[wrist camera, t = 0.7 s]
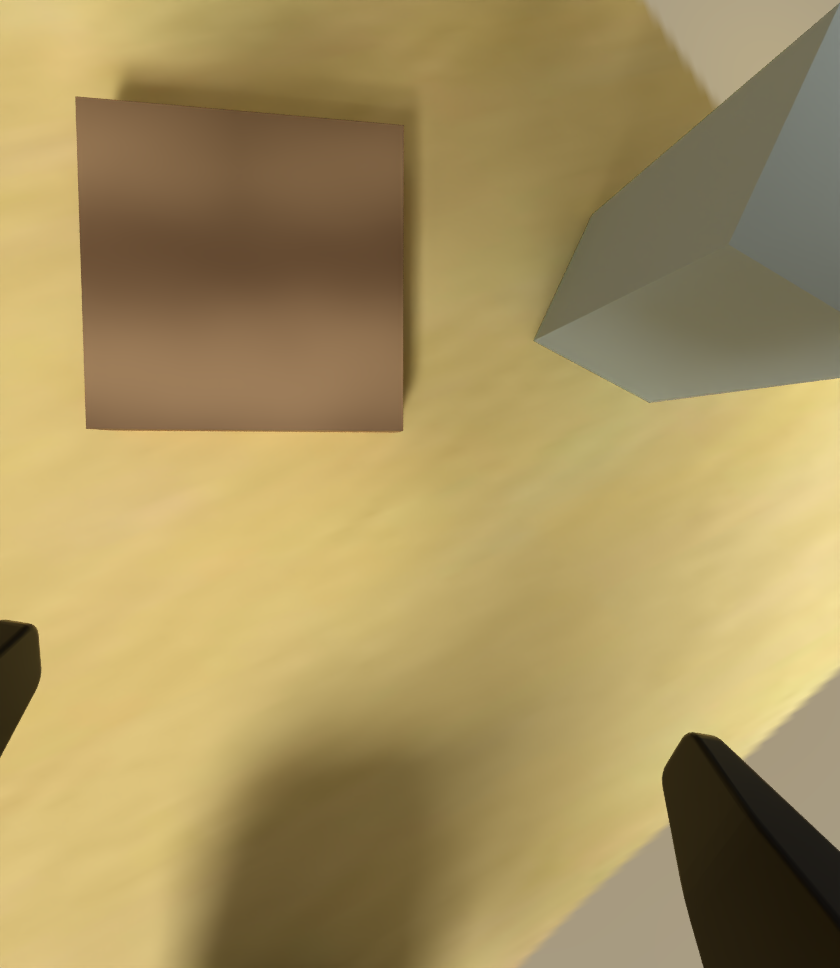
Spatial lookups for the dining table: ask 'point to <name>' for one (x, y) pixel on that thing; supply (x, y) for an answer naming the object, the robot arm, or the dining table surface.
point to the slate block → (721, 246)
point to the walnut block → (239, 270)
